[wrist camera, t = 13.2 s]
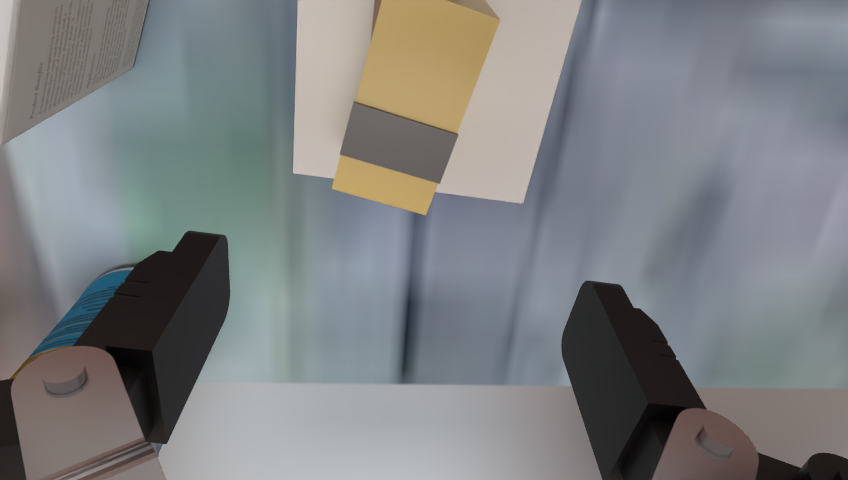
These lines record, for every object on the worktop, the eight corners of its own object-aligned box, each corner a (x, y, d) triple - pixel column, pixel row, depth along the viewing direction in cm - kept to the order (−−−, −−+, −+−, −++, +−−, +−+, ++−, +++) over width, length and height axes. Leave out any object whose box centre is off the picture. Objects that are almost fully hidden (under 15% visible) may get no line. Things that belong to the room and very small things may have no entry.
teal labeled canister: (237, 295, 34) (66, 669, 18) (195, 375, 38) (21, 747, 21) (103, 239, 32) (-245, 611, 15) (73, 330, 36) (-233, 709, 19)
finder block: (486, 1, 25) (502, 21, 20) (425, 170, 29) (427, 217, 25) (390, -34, 24) (385, -21, 19) (342, 146, 28) (330, 189, 24)
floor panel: (584, -30, 25) (590, -28, 24) (520, 197, 31) (523, 204, 30) (303, -80, 23) (299, -80, 23) (295, 166, 30) (292, 173, 29)
